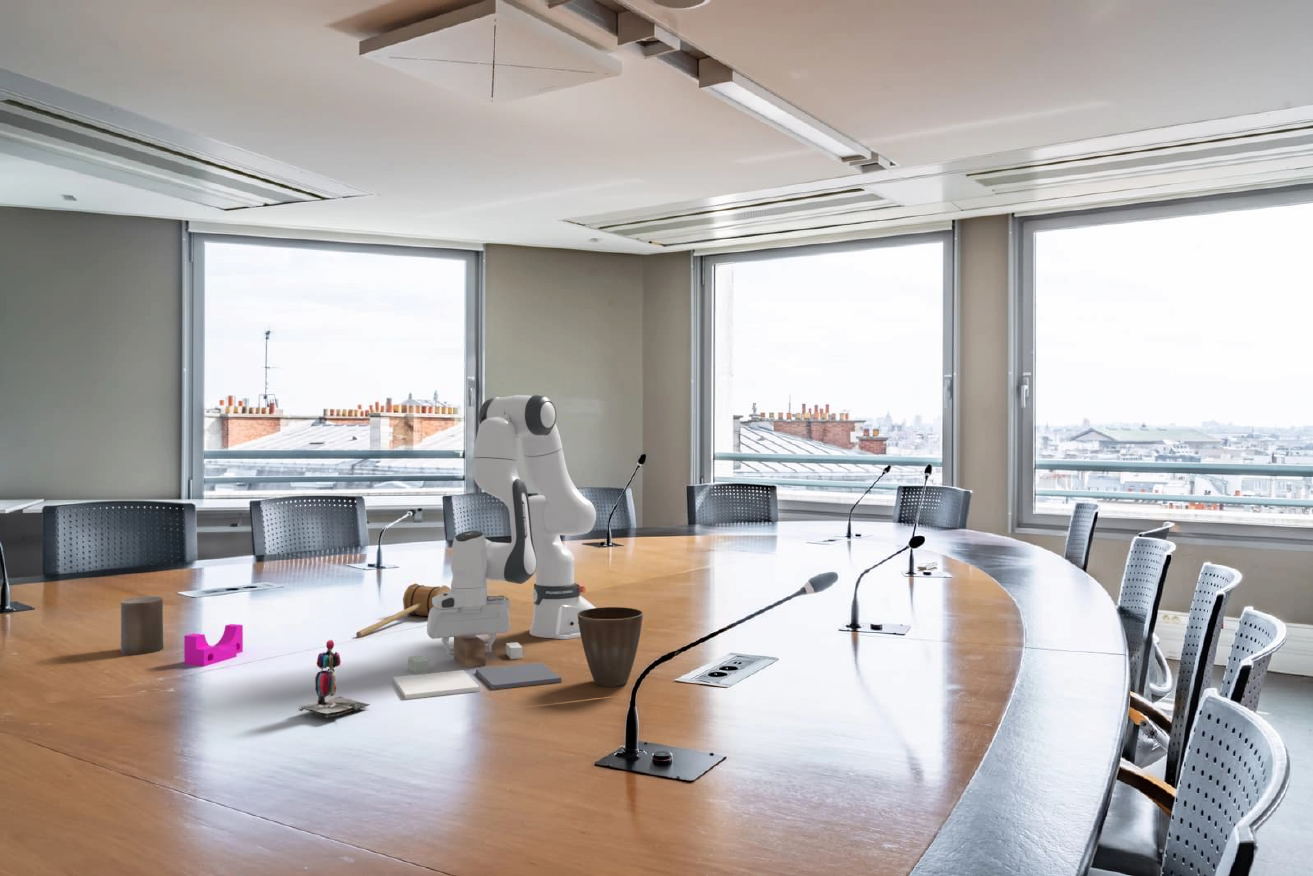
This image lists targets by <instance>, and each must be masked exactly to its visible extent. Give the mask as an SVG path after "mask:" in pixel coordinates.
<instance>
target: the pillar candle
mask: <svg viewBox="0 0 1313 876" xmlns="http://www.w3.org/2000/svg"><path fill="white" fill-rule="evenodd" d="M163 606H164V605H163V597H161V596H143V594H141V596H138V597H131V598H126V599H123V600H121V601H120V653H121V654H122V655H125V656H126V655H127V656H141V655H148V654H149V655H150V654H153V653H157V652H161V651H163V650H164V617H163V616H164V615H163V614H164V609H163ZM160 650H161V651H160Z"/></svg>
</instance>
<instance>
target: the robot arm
mask: <svg viewBox="0 0 1313 876" xmlns="http://www.w3.org/2000/svg"><path fill="white" fill-rule="evenodd" d="M556 409H557V408H556V407H555V405H554V403H553V402H552V400H551V399H550V398H548V397H546V396H544V395H538V394H537V395H536V394H534V395H530V394H528V395H527V394H515V395H508V396H503V397H499V396H496V397H493V398H490V399H486V400H485V401H483V403H482V405H481V406H480V409H479V412H478V423H479V427H478V430H477V432H476V433H477V434H476V437H475V444H474V451H473V459H472V461H473V463H472V475H473V479H474V481H475V484H476V485H477V486H478V487H479V488H480V489H481V490H483V492H485V493H486V494H488V495H490V496H492V497H494V498H495V499H498V500H500V501H501V502H502V503H504V504H505V506H506V507H507V509H508V513H509V523H510V534H511V542H496V541H492V540H489V539H487V538H486V536H485V534H484V532H482V531H480V530H468V531H463V532H460V533H458V534H456V535H455V536H454V538H453V540H452V544H451V545H452V546H451V554H450V555H451V556H450V571H451V574H452V575H451V576H452V580H451V583H450V589H451V590H450V591H447V592H445V593H442V594H439V595H437V596H434V597H433V598H432V604H433V606H434V607H432V608H431V610H430V612H429V615H428V616H427V624H426V633H427V635H428V636H429V638H431V639H432V640H435V639H441V642H442V643H443V646H444V647H445V649H446V650H445V653H446V656H454V646H450V645H449V644H448V643H449V642H450V638H454V637H460V636H472V635H475V636H482V635H484V636H485V635H487V636H488V638H489V639H488V641H487V643H485V653H491V652H492V646H493V643H494V642H495V640H496V638H497V634H506V633H508V632H509V630H510V629H511V623H510V622H511V621H510V615H509V611H510V610H511V600H510V599H509V598H508V597H507V596H505V595H503V594H502V595H488V582H487V580H490V581H499V582H507V583H512V584H517V585H522V584H525V583H526V582H527V581H529V580H530V579H531V578H532V577H533V575H535V576H534V577H535V578H534V579H535V582H534V584H533V591H532V595H533V596H532V597H533V598H532V599H533V604H534V605H533V606H534V608H533V617H532V622H531V626H530V629H529V635H531V636H533V637H537V638H547V639H557V640H570V639H576V638H581V634H580V629H579V622H578V615H577V614H578V613H579V612H580V611H583V610H587V609H592V608H597V607H596V606H594V605H593V604H592V603H591V602H590V601H588V600H587V599H585V598H584V597H583V596H581V594H584V593H586V591H587V587H586V585H583V584H578V583H576V582H575V556H574V554H573V553H572V552H571V550H570V549H568V548H567V547H566V546H565V544H564V543H563V542H562V540H561V536H567V537H568V536H569V537H570V536H571V537H574V536H575V537H576V536H580V535H581V536H582V535H587V534H588V533H590V532H591V530H593V528H594V526H595V524H596V522H597V511H596V508H595V506H594V504H593V503H592V502H591V501H590V500H589V499H587V498H586V497H585V496H584V495H582V493H581V492H580V491H579V489H577V487H576V485H575V484H574V482H573V480H572V479H571V477H570V475H569V471H568V468H567V464H566V459H565V455H564V450H563V443H562V440H561V436H560V432H559V428H558V426H557V424H556V421H557V410H556ZM519 437H520V441H521V449H522V450H521V451H522V456H523V461H524V465H525V469H526V471H525V472H526V475H527V479H528V481H529V483H530V484H531V485H532V486H534V487H535V488H536V489H538V490H539V491H540V492H541V493H542V494H541V495H540V494H538V495H537V494H536V495H531V496H529V493H528V489H527V488H528V487H527V485H526V483H525V482H524V481H522V480H521V478H520V476H519V473H518V472H519V471H518V469H517V468H518V467H517V457H518V455H517V454H518V449H517V447H518V445H517V438H519Z"/></svg>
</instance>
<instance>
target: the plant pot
mask: <svg viewBox="0 0 1313 876" xmlns="http://www.w3.org/2000/svg"><path fill="white" fill-rule="evenodd" d="M577 615H578V622H579V629H580V634H581V637H580V639H581V643H582V646H583V651H584V654H585V658H586V663H587V664H588V668H589V671H590V673H591V676H592V679H593V682H594V684H595V685H597V686H600V687H607V688H608V687H609V688H610V687H613V688H614V687H620V686H625V685H626V684H627V683H628V680H629V678H630V675H631V673H632V670H633V669H632V668H633V667H634V663H635V660H636V655H637V651H638V646H639V642H640V637H641V632H642V631H641V630H642V625H643V616H644V612H643V611H642V610H641V609H637V608H633V607H624V606H623V607H622V606H619V607H618V606H611V607H610V606H607V607H605V606H604V607H596V608H592V609H587V610H583V611H580V612H579V613H578V614H577Z"/></svg>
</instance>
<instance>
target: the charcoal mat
mask: <svg viewBox="0 0 1313 876" xmlns="http://www.w3.org/2000/svg"><path fill="white" fill-rule="evenodd" d="M475 674H476V675H477V676H478V677H479V678H480V679H481V680H482V681H483V682H484V683H486V685H487V686H488V687H489V688H491V690H493V691H494V690H502V689H510V688H511V689H512V688H519V687H529V686H537V685H538V686H539V685H546V684H547V685H548V684H557V683H558V684H559V683H562V676H560V675H559V674H557V673H556V672H554V670H552V669H550V668H549V667H548V666H546V665H545V664H544V663H542V662H540V661H539V662H531V663H529V662H528V663H519V664H509V665H500V666H491V667H489V666H488V667H480V668H479V667H478V668H475Z"/></svg>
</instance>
